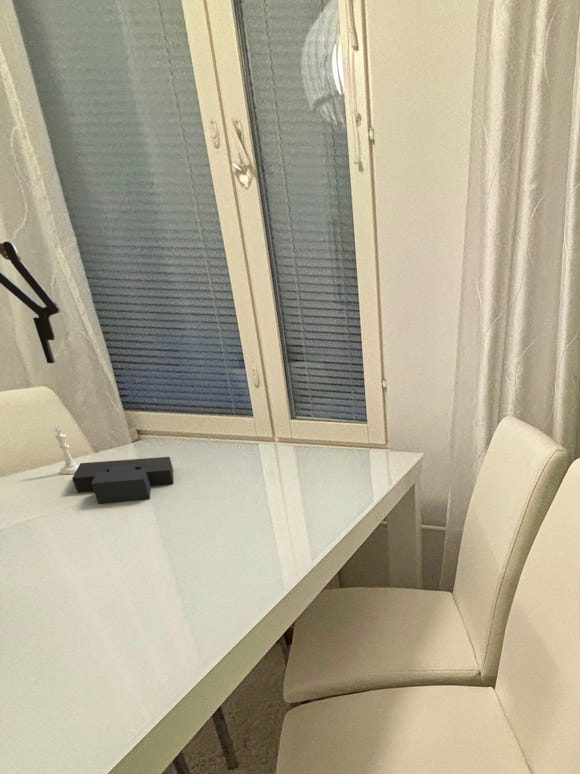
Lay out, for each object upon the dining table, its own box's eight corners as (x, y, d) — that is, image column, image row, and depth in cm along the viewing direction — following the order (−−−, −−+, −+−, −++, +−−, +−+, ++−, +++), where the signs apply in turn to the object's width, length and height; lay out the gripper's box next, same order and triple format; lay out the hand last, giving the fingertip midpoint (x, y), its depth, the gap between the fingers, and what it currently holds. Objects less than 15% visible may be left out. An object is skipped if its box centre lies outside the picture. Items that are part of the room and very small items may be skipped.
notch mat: (77, 492, 114) (71, 478, 112) (85, 476, 124) (80, 463, 123) (173, 483, 120) (169, 470, 119) (173, 469, 131) (169, 456, 130)
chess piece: (66, 475, 125) (49, 429, 120) (56, 472, 127) (39, 426, 122) (89, 471, 128) (74, 426, 123) (79, 467, 131) (63, 423, 125)
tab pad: (98, 504, 107) (91, 483, 105) (104, 486, 118) (98, 467, 116) (149, 498, 111) (144, 479, 109) (151, 481, 121) (146, 463, 119)
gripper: (-194, 178, 70) (-110, 363, 81) (43, 204, 80) (89, 364, 91) (-169, 187, 76) (-94, 359, 86) (50, 210, 86) (92, 361, 97)
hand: (0, 362), depth 89 cm, fingers open, 13 cm apart
